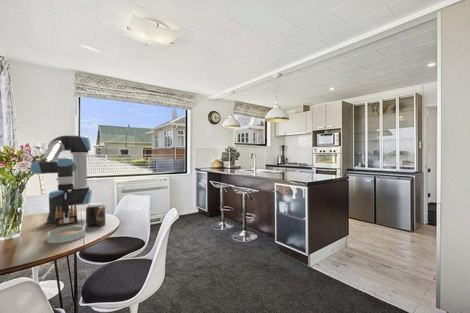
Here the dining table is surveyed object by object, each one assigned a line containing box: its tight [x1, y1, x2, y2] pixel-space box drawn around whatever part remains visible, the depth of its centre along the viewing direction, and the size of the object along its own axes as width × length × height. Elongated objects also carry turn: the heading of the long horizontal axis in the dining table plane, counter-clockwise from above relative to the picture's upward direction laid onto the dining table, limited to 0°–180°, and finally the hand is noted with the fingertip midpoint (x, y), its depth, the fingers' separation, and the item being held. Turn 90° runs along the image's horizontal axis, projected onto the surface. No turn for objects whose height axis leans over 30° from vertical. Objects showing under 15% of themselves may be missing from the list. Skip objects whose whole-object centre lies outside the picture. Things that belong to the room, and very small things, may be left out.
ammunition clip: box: [54, 204, 78, 228], centre depth 137 cm, size 11×2×12 cm, turn 125°
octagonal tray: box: [46, 224, 87, 244], centre depth 137 cm, size 19×19×4 cm
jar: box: [85, 202, 107, 228], centre depth 160 cm, size 12×12×15 cm
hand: (66, 222), depth 137 cm, fingers closed on ammunition clip, 2 cm apart
